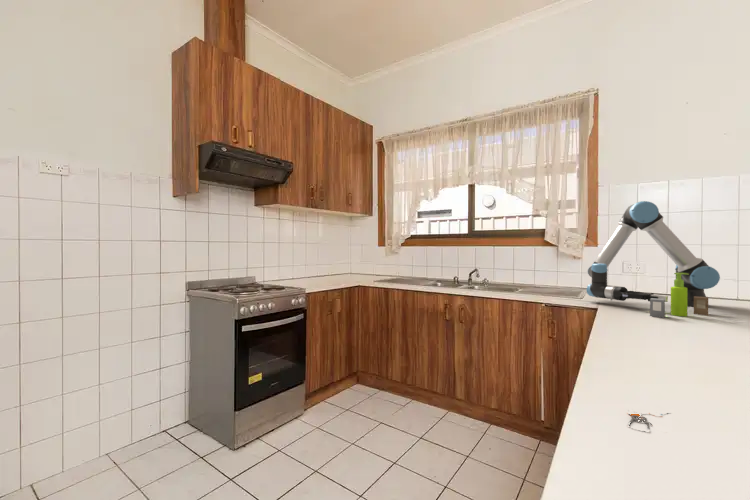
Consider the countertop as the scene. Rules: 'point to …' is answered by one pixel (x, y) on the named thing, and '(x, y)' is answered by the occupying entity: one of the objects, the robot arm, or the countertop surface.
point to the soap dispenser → (679, 297)
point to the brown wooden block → (701, 305)
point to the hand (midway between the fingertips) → (666, 299)
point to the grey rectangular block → (657, 307)
